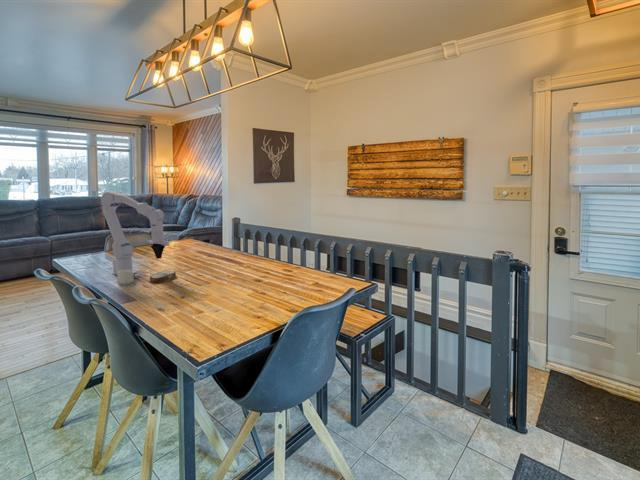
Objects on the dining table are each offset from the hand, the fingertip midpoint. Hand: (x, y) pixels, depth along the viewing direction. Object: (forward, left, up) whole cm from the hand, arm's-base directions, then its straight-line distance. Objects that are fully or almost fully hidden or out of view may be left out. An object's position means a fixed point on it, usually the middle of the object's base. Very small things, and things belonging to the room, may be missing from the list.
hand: (158, 258), depth 189 cm
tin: (+3, -5, -8) cm, 10 cm away
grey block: (-4, -17, -9) cm, 20 cm away
